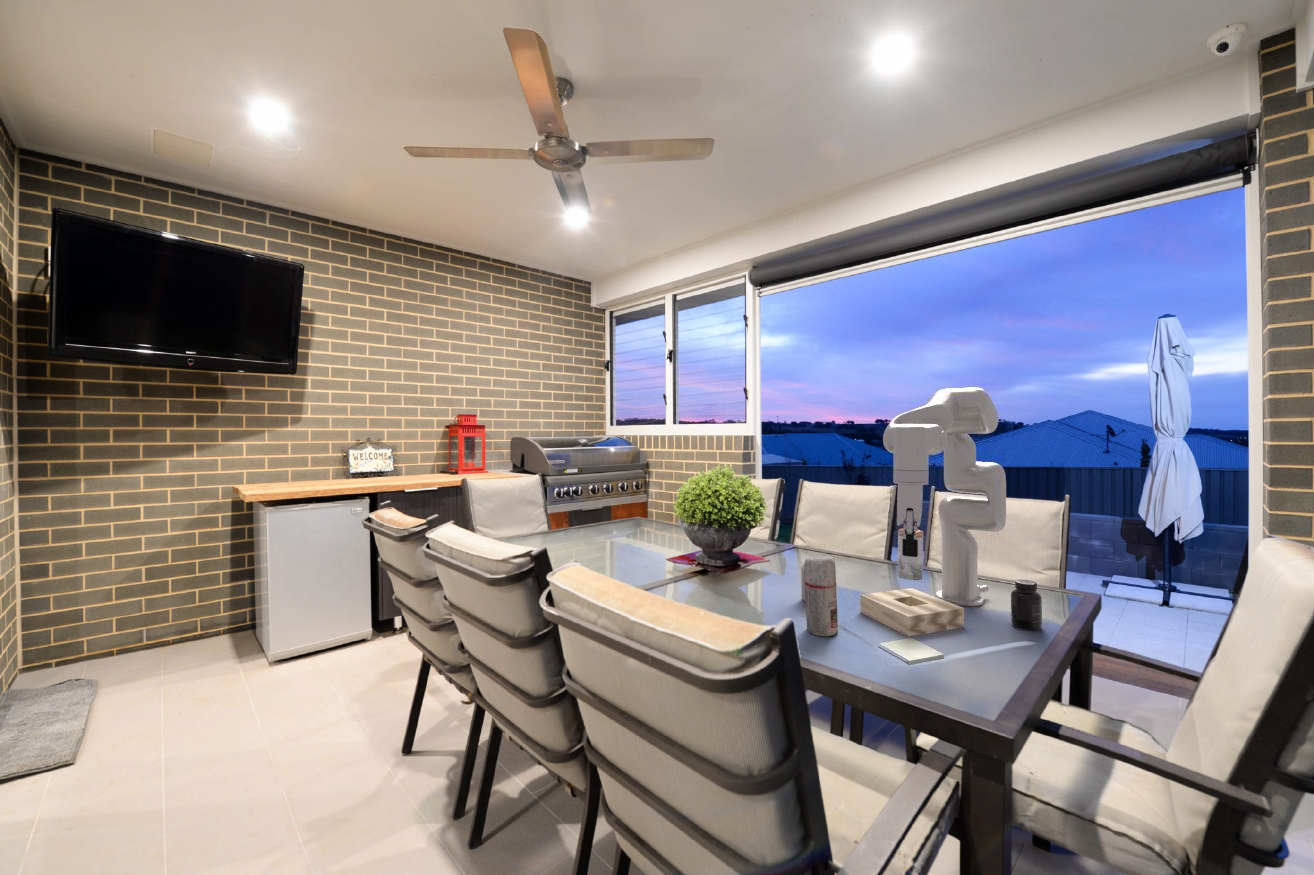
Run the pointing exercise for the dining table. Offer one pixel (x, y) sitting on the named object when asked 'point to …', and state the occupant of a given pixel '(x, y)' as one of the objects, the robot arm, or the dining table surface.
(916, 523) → the robot arm
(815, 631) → the spray can
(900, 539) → the copper topped silver cylinder
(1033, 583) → the supplement bottle
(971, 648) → the dining table surface
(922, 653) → the pad
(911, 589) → the housing
